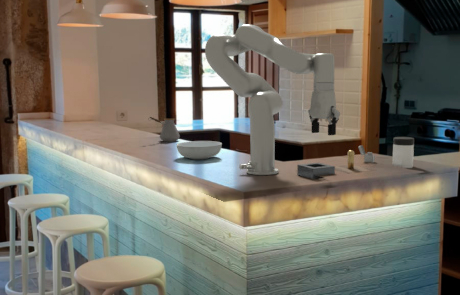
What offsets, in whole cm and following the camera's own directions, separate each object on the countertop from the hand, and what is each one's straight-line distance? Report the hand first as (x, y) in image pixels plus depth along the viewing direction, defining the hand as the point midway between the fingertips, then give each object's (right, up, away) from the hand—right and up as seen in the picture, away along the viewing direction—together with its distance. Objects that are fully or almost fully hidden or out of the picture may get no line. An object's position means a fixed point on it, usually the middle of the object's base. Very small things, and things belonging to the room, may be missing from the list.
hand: (323, 133), depth 204 cm
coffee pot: (-72, -2, +109) cm, 131 cm away
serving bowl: (-49, -10, +51) cm, 71 cm away
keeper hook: (+13, -13, +13) cm, 23 cm away
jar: (+37, -13, +24) cm, 46 cm away
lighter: (+23, -12, +30) cm, 40 cm away
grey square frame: (-2, -16, +6) cm, 17 cm away
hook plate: (+13, -15, +14) cm, 24 cm away
